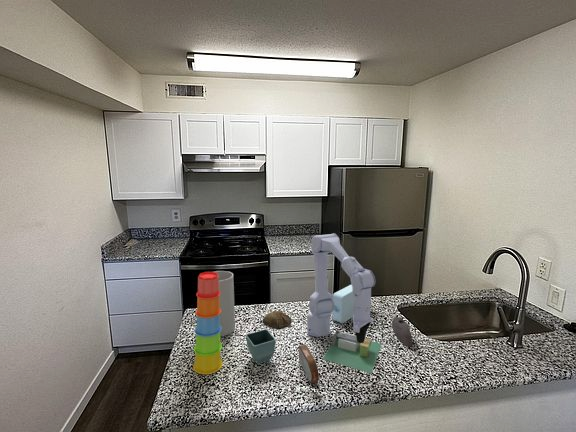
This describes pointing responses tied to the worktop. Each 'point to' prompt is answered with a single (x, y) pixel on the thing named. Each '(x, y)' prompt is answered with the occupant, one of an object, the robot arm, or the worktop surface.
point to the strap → (347, 337)
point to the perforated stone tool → (402, 331)
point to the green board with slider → (352, 354)
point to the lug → (365, 348)
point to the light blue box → (343, 304)
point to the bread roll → (277, 319)
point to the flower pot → (261, 345)
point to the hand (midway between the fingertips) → (360, 341)
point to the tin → (308, 363)
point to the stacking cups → (208, 325)
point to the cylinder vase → (226, 302)
